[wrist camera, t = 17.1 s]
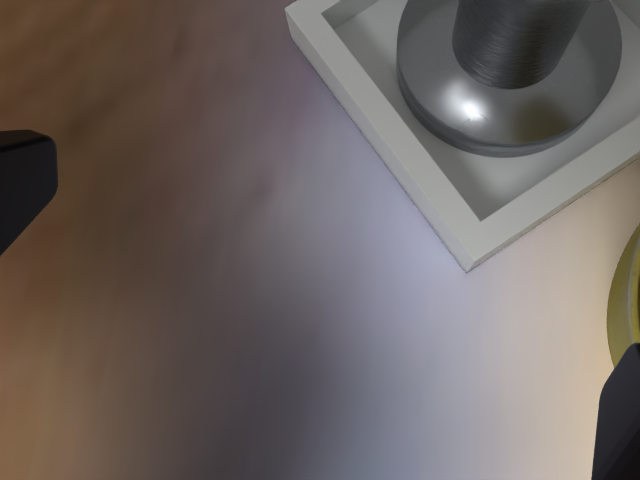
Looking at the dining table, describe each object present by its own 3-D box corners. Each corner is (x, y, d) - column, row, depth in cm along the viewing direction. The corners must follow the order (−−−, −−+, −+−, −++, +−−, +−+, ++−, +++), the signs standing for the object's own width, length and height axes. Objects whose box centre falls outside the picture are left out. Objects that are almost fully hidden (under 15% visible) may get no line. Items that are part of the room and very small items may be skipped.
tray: (466, 273, 22) (474, 261, 20) (291, 37, 25) (284, 8, 24) (726, 98, 23) (758, 71, 21) (526, -110, 26) (538, -150, 24)
